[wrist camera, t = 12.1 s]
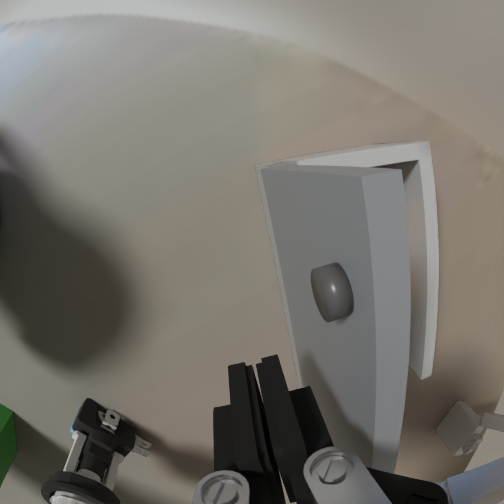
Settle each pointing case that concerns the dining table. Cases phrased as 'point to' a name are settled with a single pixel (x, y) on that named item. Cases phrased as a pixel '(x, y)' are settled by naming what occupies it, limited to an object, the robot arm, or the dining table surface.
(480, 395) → the dining table surface
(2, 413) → the hardback book
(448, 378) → the dining table surface
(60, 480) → the push button
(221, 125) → the dining table surface
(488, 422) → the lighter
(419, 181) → the open box
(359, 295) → the cover
